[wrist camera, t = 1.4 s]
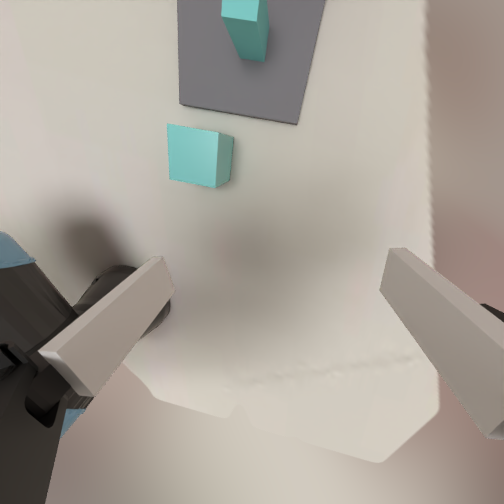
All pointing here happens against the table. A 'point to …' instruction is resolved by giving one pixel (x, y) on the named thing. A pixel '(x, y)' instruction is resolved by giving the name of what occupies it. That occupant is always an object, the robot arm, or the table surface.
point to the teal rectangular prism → (199, 156)
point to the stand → (247, 55)
